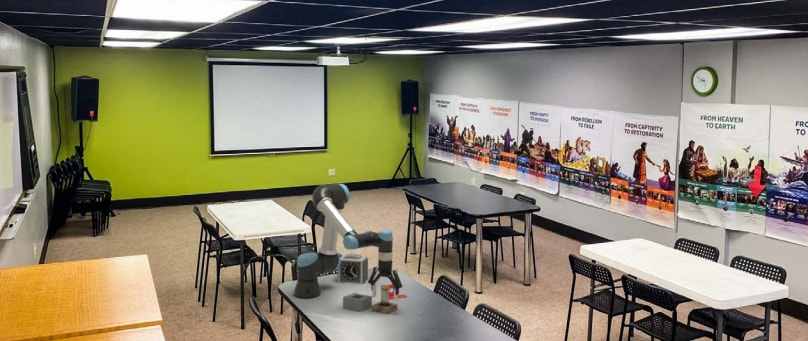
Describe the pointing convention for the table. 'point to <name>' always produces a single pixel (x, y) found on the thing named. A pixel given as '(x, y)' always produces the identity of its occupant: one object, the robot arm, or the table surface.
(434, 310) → the table surface
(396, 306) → the frame
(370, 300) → the block
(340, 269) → the alarm clock
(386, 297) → the pin
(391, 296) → the bracket
